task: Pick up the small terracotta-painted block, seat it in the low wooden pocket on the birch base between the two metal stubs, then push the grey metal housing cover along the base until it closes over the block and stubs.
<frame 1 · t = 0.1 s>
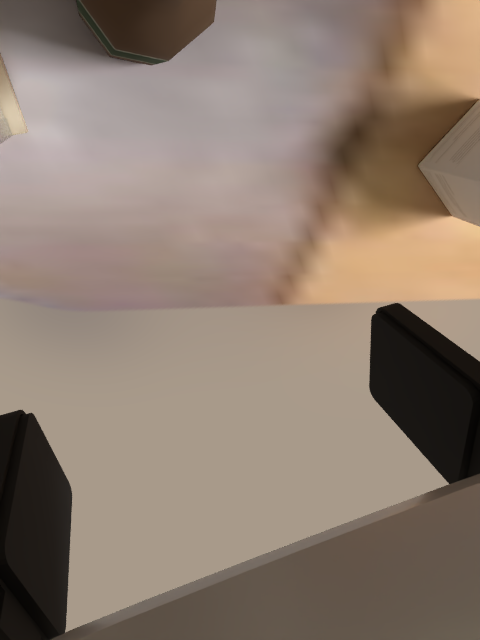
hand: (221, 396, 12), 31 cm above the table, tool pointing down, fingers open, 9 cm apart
supplement box: (464, 161, 47), on the table
beer bottle: (131, 7, 32), on the table
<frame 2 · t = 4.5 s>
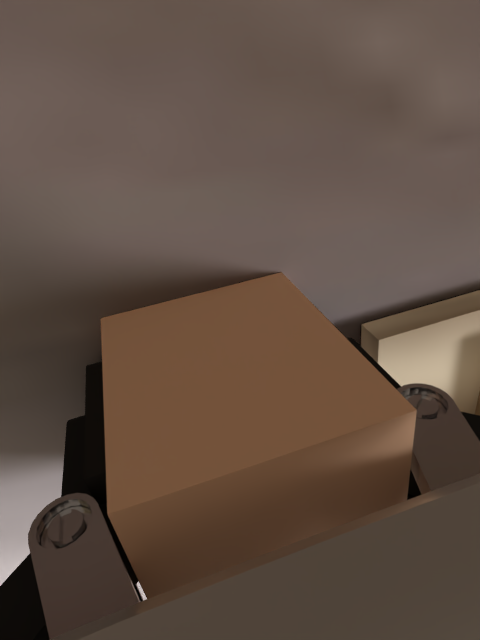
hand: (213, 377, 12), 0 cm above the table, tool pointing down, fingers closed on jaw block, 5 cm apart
jaw block: (210, 367, 13), on the table, touching gripper
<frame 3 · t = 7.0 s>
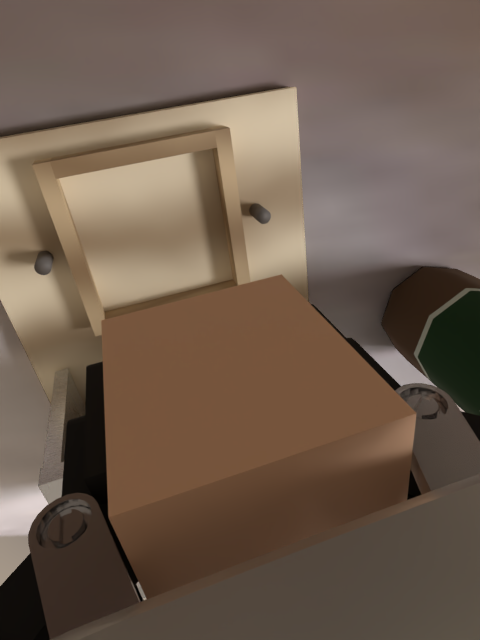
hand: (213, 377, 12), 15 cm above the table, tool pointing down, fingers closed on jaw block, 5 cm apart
jaw block: (210, 369, 13), point 15 cm above the table, touching gripper
housing base: (174, 315, 28), on the table
housing cover: (211, 445, 27), point 6 cm above the table, slide at 0.0 cm
beer bottle: (419, 306, 34), on the table
when the fingers open (3 cm above the table, at t = 9.5 s): jaw block drops 2 cm, resting on housing base.
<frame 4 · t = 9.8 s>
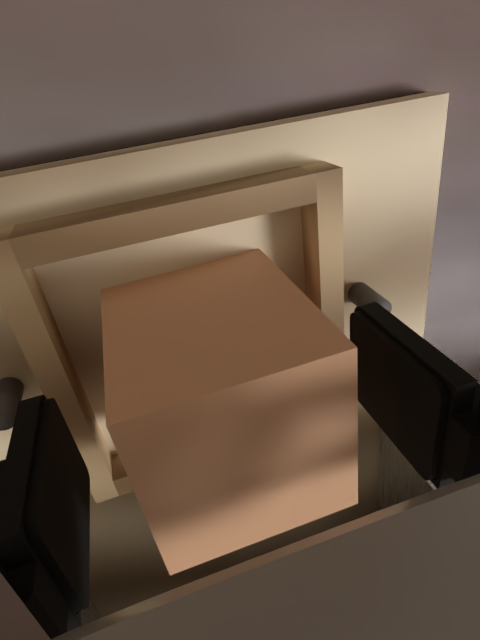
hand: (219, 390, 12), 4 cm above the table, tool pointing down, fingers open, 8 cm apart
jaw block: (198, 335, 14), point 1 cm above the table, touching housing base
housing base: (217, 441, 18), on the table
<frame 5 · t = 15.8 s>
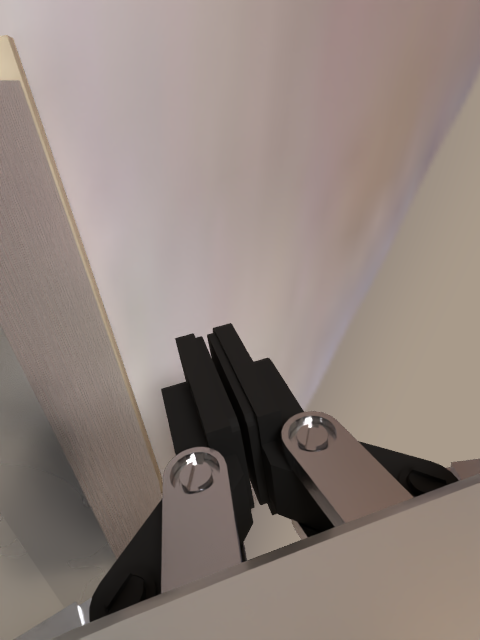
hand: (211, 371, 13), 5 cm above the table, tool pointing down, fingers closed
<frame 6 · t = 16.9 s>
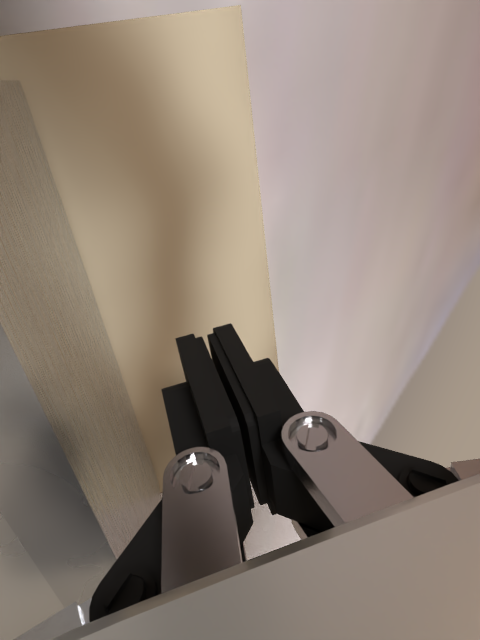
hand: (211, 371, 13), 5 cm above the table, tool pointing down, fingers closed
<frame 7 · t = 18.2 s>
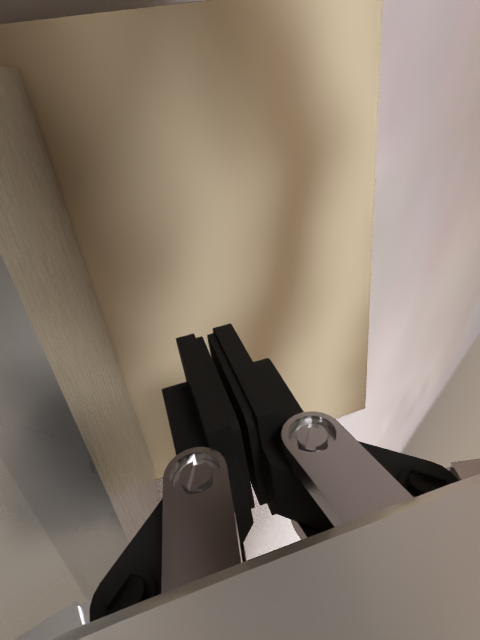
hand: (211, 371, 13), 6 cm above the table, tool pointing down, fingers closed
housing base: (79, 313, 16), on the table
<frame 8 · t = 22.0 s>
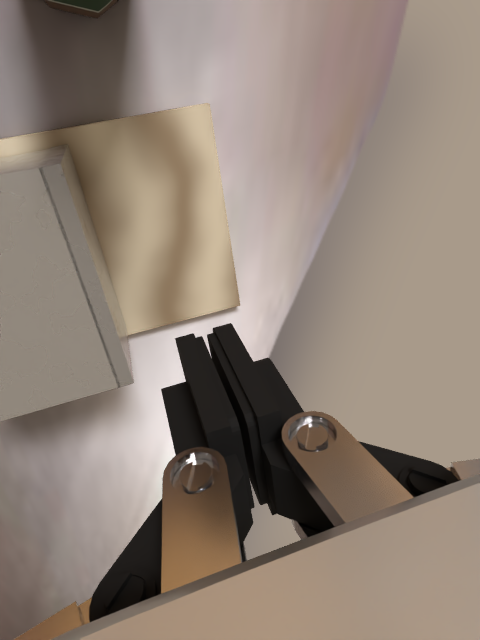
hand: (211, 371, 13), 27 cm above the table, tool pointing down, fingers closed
housing base: (88, 244, 37), on the table
housing cover: (24, 283, 31), point 6 cm above the table, slide at 11.0 cm
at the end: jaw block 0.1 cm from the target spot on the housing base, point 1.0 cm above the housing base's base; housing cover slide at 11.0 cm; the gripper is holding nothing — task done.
